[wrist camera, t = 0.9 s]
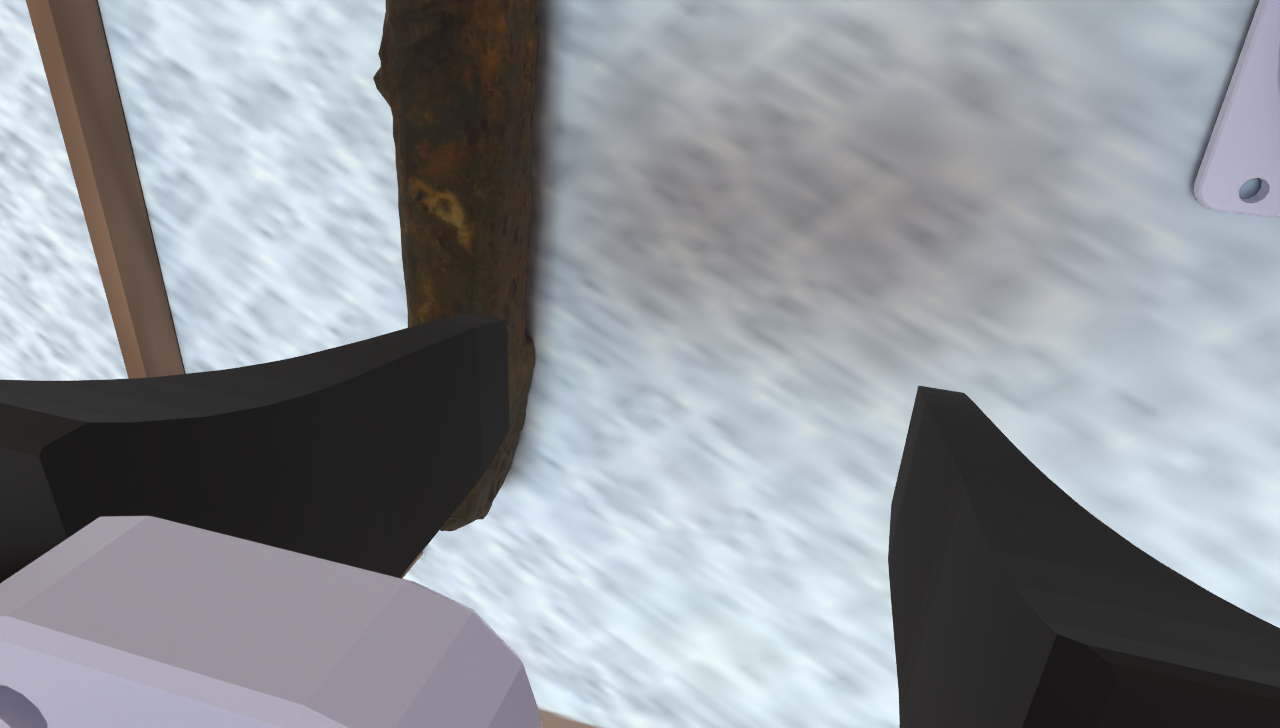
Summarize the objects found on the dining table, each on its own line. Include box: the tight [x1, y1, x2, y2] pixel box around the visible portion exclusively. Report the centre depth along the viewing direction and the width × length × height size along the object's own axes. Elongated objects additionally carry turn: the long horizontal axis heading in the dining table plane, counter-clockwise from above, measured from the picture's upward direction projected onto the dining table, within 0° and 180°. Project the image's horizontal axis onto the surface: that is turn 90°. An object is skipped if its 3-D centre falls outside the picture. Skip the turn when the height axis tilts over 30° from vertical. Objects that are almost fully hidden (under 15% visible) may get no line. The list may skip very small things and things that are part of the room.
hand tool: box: [373, 0, 539, 531], centre depth 20 cm, size 19×4×5 cm, turn 174°
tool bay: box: [26, 0, 422, 579], centre depth 23 cm, size 10×27×2 cm, turn 178°
